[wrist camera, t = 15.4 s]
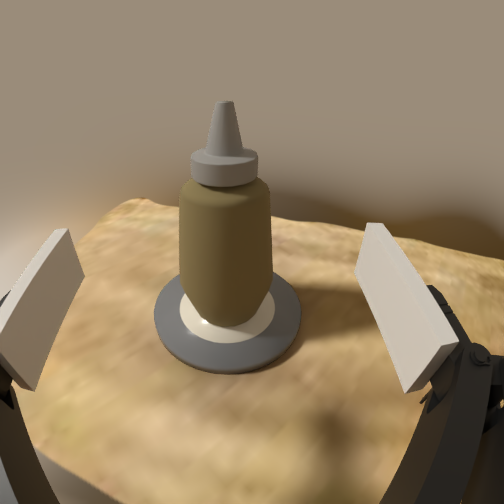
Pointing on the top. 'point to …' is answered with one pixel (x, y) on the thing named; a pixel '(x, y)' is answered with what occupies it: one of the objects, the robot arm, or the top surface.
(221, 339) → the coaster
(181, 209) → the squeeze bottle
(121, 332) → the top surface
